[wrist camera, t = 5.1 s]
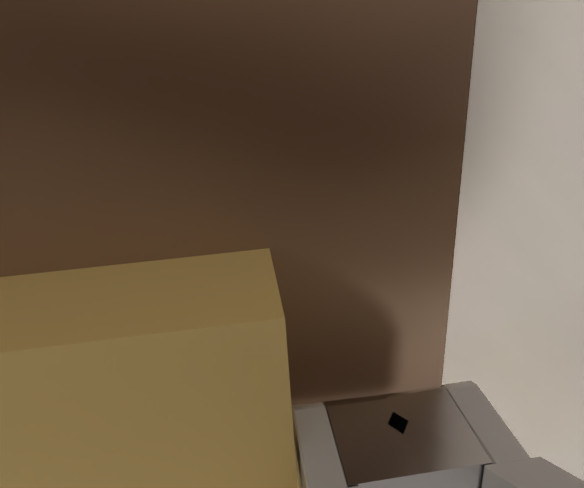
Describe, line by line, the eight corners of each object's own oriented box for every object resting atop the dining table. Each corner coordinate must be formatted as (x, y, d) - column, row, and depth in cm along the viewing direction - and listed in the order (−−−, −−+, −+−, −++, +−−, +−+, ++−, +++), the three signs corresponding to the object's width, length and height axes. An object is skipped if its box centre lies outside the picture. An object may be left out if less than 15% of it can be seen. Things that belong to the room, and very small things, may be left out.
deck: (-378, -305, 6) (-654, -459, 4) (437, -295, 7) (516, -411, 5) (49, 658, 14) (23, 752, 12) (390, 597, 15) (413, 675, 13)
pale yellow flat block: (-231, 302, 7) (-390, 399, 5) (269, 248, 8) (285, 318, 6) (-74, 574, 9) (-145, 707, 8) (292, 515, 10) (307, 623, 8)
